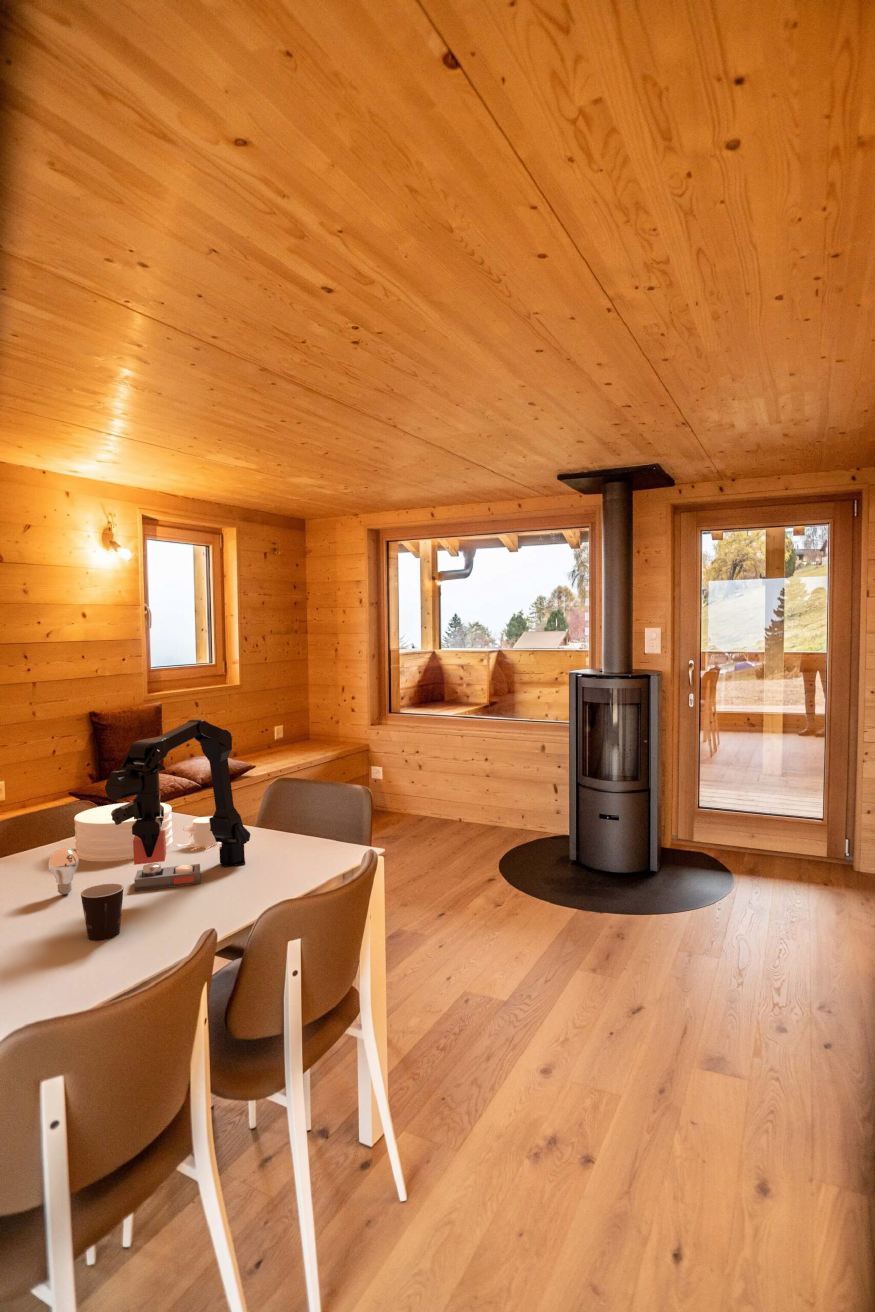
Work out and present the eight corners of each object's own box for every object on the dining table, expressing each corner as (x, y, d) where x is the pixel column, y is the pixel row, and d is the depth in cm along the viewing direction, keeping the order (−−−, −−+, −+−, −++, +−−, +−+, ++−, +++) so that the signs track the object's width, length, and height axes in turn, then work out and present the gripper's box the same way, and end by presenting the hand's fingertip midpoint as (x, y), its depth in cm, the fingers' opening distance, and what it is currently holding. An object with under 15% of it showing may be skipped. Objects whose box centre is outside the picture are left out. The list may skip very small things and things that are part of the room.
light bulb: (67, 900, 184) (65, 853, 183) (43, 899, 185) (41, 852, 185) (86, 891, 191) (84, 845, 190) (62, 889, 192) (61, 844, 192)
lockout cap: (166, 853, 188) (165, 830, 188) (164, 861, 182) (163, 837, 181) (136, 856, 186) (135, 833, 186) (134, 864, 179) (133, 840, 179)
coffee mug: (91, 928, 166) (89, 884, 165) (130, 926, 166) (129, 882, 166) (69, 950, 154) (68, 903, 154) (112, 948, 155) (110, 901, 154)
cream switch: (193, 872, 200) (192, 864, 200) (192, 877, 195) (192, 869, 195) (175, 874, 198) (175, 866, 198) (175, 879, 194) (174, 871, 194)
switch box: (200, 874, 202) (199, 863, 202) (199, 884, 194) (199, 873, 194) (137, 881, 197) (137, 870, 197) (134, 891, 189) (134, 880, 189)
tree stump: (169, 842, 236) (168, 817, 236) (230, 833, 245) (229, 809, 245) (180, 858, 219) (179, 831, 218) (245, 848, 228) (244, 822, 228)
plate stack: (140, 831, 250) (139, 798, 249) (190, 844, 233) (189, 808, 233) (58, 852, 227) (56, 815, 227) (107, 867, 211) (106, 828, 210)
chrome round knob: (161, 870, 197) (161, 862, 197) (160, 875, 193) (160, 867, 193) (144, 872, 196) (143, 864, 196) (142, 877, 192) (142, 869, 192)
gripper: (117, 786, 190) (120, 846, 190) (107, 803, 172) (110, 868, 173) (163, 782, 193) (165, 841, 194) (158, 798, 175) (161, 862, 176)
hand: (150, 852), depth 184 cm, fingers closed on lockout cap, 7 cm apart
